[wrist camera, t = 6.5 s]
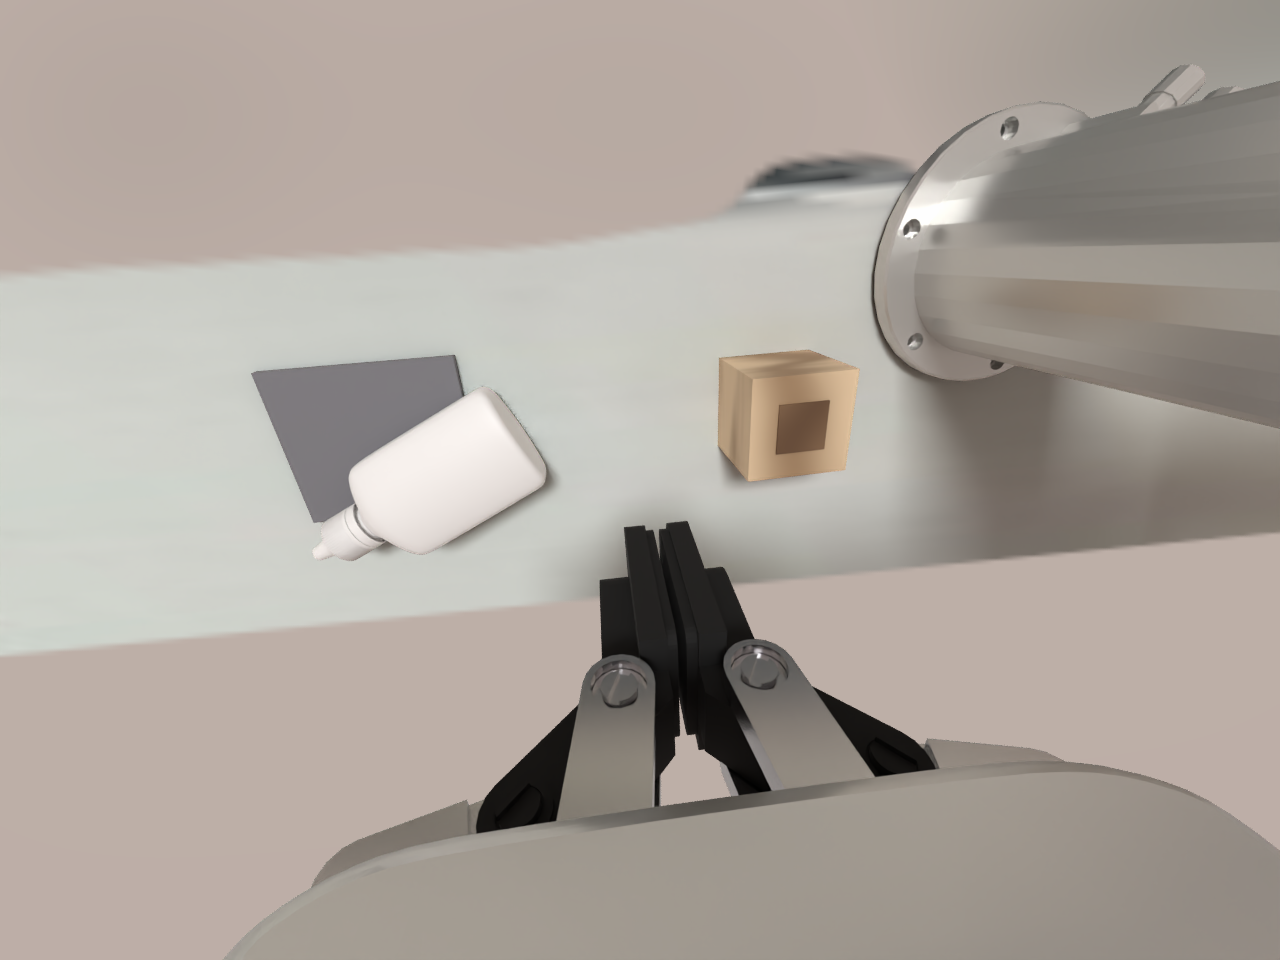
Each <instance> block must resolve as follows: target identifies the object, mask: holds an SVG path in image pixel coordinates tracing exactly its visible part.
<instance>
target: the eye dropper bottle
mask: <svg viewBox="0 0 1280 960" xmlns="http://www.w3.org/2000/svg"><path fill="white" fill-rule="evenodd" d="M545 479H546V467H545V464H544V462H543V460H542V458H541V456H540V455H539V453H538V451H537V450H536V448H535V446H534V445H533V443H532V441H531V440H530V438H529V437H528V435H527V434H526V432H525V431H524V429H523V428H522V426H521V425H520V423H519V422H518V421H517V419H516V418H515V417H514V415H513V414H512V413H511V411H510V410H509V409H508V407H507V406H506V405H505V404H504V402H503V401H502V400H501V399H500V397H499V396H498V395H497V394H496V393H495V392H494V391H493V390H492V389H490V388H487V387H480V388H477V389H475V390H474V391H472V392H470V393H469V394H467V395H465V396H464V397H462V398H460V399H459V400H457V401H456V402H454V403H452V404H451V405H449V406H447V407H446V408H444V409H442V410H441V411H439V412H438V413H436V414H434V415H433V416H431V417H429V418H428V419H426V420H425V421H423V422H421V423H420V424H418V425H416V426H415V427H413V428H412V429H410V430H408V431H407V432H405V433H403V434H402V435H400V436H399V437H397V438H395V439H394V440H392V441H390V442H389V443H387V444H386V445H384V446H382V447H381V448H379V449H378V450H376V451H375V452H373V453H371V454H370V455H368V456H367V457H365V458H364V459H362V460H361V461H360V462H358V463H357V464H356V465H355V466H354V467H353V468H352V469H351V471H350V474H349V485H350V489H351V493H352V495H353V498H354V501H355V503H354V504H353V505H351V506H349V507H348V508H346V509H344V510H343V511H341V512H340V513H338V514H336V515H335V516H333V517H331V518H330V519H328V520H326V521H325V522H324V523H323V525H322V528H321V536H322V539H323V541H322V542H321V543H319V544H318V545H317V546H316V547H315V548H314V549H313V550H312V554H313V556H314V557H315V558H316V559H318V560H324V559H326V558H329V557H332V556H337V557H338V558H340V559H343V560H347V561H354V560H357V559H358V558H360V557H362V556H363V555H365V554H367V553H368V552H370V551H372V550H373V549H375V548H377V547H378V546H380V545H382V544H383V543H385V542H387V541H388V542H390V543H391V544H393V545H395V546H397V547H399V548H401V549H403V550H405V551H408V552H410V553H414V554H419V555H423V554H427V553H430V552H432V551H434V550H436V549H438V548H439V547H441V546H443V545H445V544H446V543H448V542H450V541H452V540H453V539H455V538H457V537H458V536H460V535H462V534H464V533H465V532H467V531H469V530H470V529H472V528H474V527H475V526H477V525H479V524H480V523H482V522H484V521H486V520H487V519H489V518H491V517H492V516H494V515H496V514H497V513H499V512H501V511H502V510H504V509H506V508H507V507H509V506H511V505H512V504H514V503H516V502H517V501H519V500H521V499H523V498H524V497H526V496H528V495H529V494H531V493H533V492H534V491H536V490H538V489H539V488H541V487H542V486H543V485H544V483H545Z"/></svg>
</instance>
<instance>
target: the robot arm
mask: <svg viewBox="0 0 1280 960" xmlns="http://www.w3.org/2000/svg"><path fill="white" fill-rule="evenodd" d="M1204 83H1205V73H1204V72H1203V70H1202V69H1201V68H1200V67H1197V66H1195V65H1192V64H1189V65H1181V66H1179V67H1177V68H1175V69H1173V70H1172V71H1171V72H1170V73H1169V74H1168V75H1167V76H1166V77H1165V78H1164V79H1163V80H1161V82H1160V83H1158V84H1157V85H1156V86H1155V87H1154V88H1153V89H1152V90H1151V91H1150V92H1149V93H1148V94H1147V95H1146V96H1145V98H1144V99H1143V101H1142V102H1141V103H1140V104H1139V105H1138V106H1137V107H1133V108H1129V109H1125V110H1121V111H1117V112H1114V113H1110V114H1106V115H1102V116H1099V117H1095V118H1090V117H1088V116H1087V115H1086V114H1085V113H1084V112H1082V111H1080V110H1077V109H1075V108H1072V107H1070V106H1067V105H1065V104H1061V103H1051V102H1041V101H1040V102H1034V103H1028V104H1023V105H1016V106H1013V107H1010V108H1007V109H1004V110H1001V111H998V112H995V113H992V114H989V115H987V116H985V117H983V118H981V119H979V120H977V121H975V122H974V123H972V124H970V125H968V126H966V127H964V128H963V129H961V130H960V131H959V132H957V133H956V134H955V135H954V136H952V137H951V138H950V139H948V140H947V141H946V142H945V143H944V144H942V145H941V146H940V147H939V148H938V149H937V150H936V151H935V152H934V153H933V154H932V155H931V156H930V157H929V158H928V159H927V161H926V162H925V163H924V164H923V165H922V166H921V167H920V168H919V169H918V171H917V172H916V174H915V175H914V177H913V178H912V180H911V181H910V182H909V184H908V185H907V187H906V188H905V190H904V191H903V192H902V194H901V196H900V198H899V200H898V202H897V204H896V206H895V208H894V210H893V212H892V214H891V216H890V218H889V220H888V223H887V226H886V229H885V232H884V235H883V238H882V241H881V243H880V246H879V252H878V257H877V263H876V268H875V285H874V299H875V305H876V311H877V317H878V321H879V324H880V326H881V329H882V331H883V334H884V337H885V339H886V340H887V342H888V343H889V345H890V346H891V348H892V349H893V351H894V352H895V354H896V355H897V356H899V357H900V358H901V359H902V360H903V361H904V362H905V363H906V364H908V365H909V366H910V367H912V368H914V369H916V370H918V371H920V372H922V373H924V374H927V375H931V376H934V377H937V378H940V379H944V380H954V381H969V380H978V379H983V378H987V377H991V376H994V375H997V374H1000V373H1002V372H1004V371H1006V370H1008V369H1010V368H1012V367H1014V366H1020V367H1024V368H1029V369H1033V370H1037V371H1041V372H1045V373H1050V374H1054V375H1058V376H1062V377H1066V378H1070V379H1075V380H1079V381H1083V382H1087V383H1091V384H1096V385H1100V386H1104V387H1108V388H1112V389H1116V390H1121V391H1125V392H1129V393H1133V394H1137V395H1142V396H1146V397H1150V398H1154V399H1158V400H1162V401H1167V402H1171V403H1175V404H1179V405H1183V406H1188V407H1192V408H1196V409H1200V410H1204V411H1208V412H1213V413H1217V414H1221V415H1225V416H1229V417H1233V418H1238V419H1242V420H1246V421H1250V422H1254V423H1259V424H1263V425H1267V426H1271V427H1275V428H1279V429H1280V81H1277V82H1273V83H1269V84H1265V85H1261V86H1257V87H1252V88H1249V89H1243V88H1240V87H1236V86H1231V87H1221V88H1219V89H1217V90H1215V91H1212V92H1210V93H1209V94H1208V95H1207V96H1206V97H1204V99H1202V100H1200V101H1196V102H1192V103H1188V104H1185V103H1186V102H1187V101H1188V100H1189V99H1190V98H1191V97H1192V96H1193V95H1194V94H1195V93H1196V92H1197V91H1198V90H1199V89H1200V88H1201V87H1202V86H1203V84H1204ZM903 229H904V230H903ZM624 533H625V545H626V557H627V569H628V577H623V578H614V579H604V580H600V608H601V609H600V611H601V641H602V659H601V660H600V661H598V662H597V663H596V664H594V665H593V666H592V667H591V668H590V670H589V671H588V672H587V673H586V676H585V678H584V681H583V684H582V689H581V695H580V700H579V704H578V705H577V706H576V707H575V708H574V709H573V710H572V711H571V712H570V713H569V714H568V715H567V716H566V717H565V718H564V719H563V720H562V721H561V722H560V723H559V724H558V725H557V726H556V727H555V728H554V729H553V730H552V731H551V732H550V733H549V734H548V735H547V736H546V737H545V738H544V739H542V740H541V741H540V742H539V743H538V745H536V747H534V748H533V749H532V750H531V751H530V752H529V753H528V754H527V755H526V756H525V757H524V758H523V759H522V760H521V761H520V762H519V763H518V764H517V765H516V766H515V767H514V768H513V769H512V770H511V771H510V772H509V773H508V774H506V775H505V777H503V778H502V779H501V780H500V781H499V782H498V783H497V784H496V785H495V786H494V788H493V789H492V790H491V791H490V792H489V794H488V795H487V796H486V798H485V799H484V800H482V801H479V802H476V803H474V804H471V805H469V804H468V802H467V800H465V801H462V802H459V803H457V804H454V805H452V806H449V807H446V808H443V809H440V810H438V811H435V812H432V813H430V814H427V815H424V816H421V817H419V818H416V819H414V820H411V821H408V822H405V823H403V824H400V825H397V826H394V827H392V828H389V829H386V830H383V831H381V832H378V833H375V834H373V835H370V836H367V837H365V838H362V839H359V840H357V841H355V842H353V843H352V844H349V845H348V846H346V847H344V848H342V849H341V850H340V851H339V852H338V853H336V854H335V855H334V856H333V857H332V858H331V859H330V860H329V861H328V862H326V864H325V865H324V867H323V868H322V870H321V871H320V872H319V874H318V875H317V877H316V878H315V879H314V882H313V884H312V887H311V888H310V889H309V890H307V891H305V892H303V893H302V894H300V895H298V896H297V897H295V898H294V899H292V900H291V901H289V902H288V903H286V904H285V905H283V906H282V907H280V908H279V909H277V910H276V911H275V912H274V913H272V914H271V915H269V916H268V917H267V918H265V919H264V920H262V921H261V922H260V923H259V924H258V925H256V926H255V927H254V928H253V929H252V930H251V931H250V932H248V933H247V934H246V935H245V936H244V937H243V938H242V939H241V940H240V941H239V942H238V943H237V944H236V945H235V946H234V948H233V949H232V950H231V951H230V952H229V953H228V955H227V956H226V957H225V958H224V959H223V960H1280V850H1278V849H1277V848H1276V847H1275V846H1273V845H1272V844H1271V843H1269V842H1268V841H1267V840H1266V839H1264V838H1263V837H1262V836H1260V835H1259V834H1258V833H1256V832H1255V831H1253V830H1252V829H1251V828H1249V827H1248V826H1247V825H1245V824H1244V823H1242V822H1241V821H1240V820H1238V819H1237V818H1235V817H1234V816H1232V815H1231V814H1230V813H1228V812H1226V811H1225V810H1223V809H1221V808H1220V807H1218V806H1217V805H1215V804H1213V803H1212V802H1210V801H1208V800H1207V799H1204V798H1202V797H1200V796H1198V795H1196V794H1194V793H1192V792H1190V791H1188V790H1186V789H1183V788H1180V787H1178V786H1175V785H1172V784H1169V783H1167V782H1164V781H1161V780H1157V779H1154V778H1151V777H1147V776H1144V775H1141V774H1137V773H1132V772H1128V771H1123V770H1119V769H1114V768H1110V767H1105V766H1099V765H1092V764H1083V763H1074V762H1065V761H1063V760H1061V759H1059V758H1057V757H1055V756H1053V755H1051V754H1049V753H1047V752H1044V751H1040V750H1036V749H1031V748H1023V747H1012V746H1002V745H991V744H980V743H970V742H959V741H949V740H937V739H927V740H926V743H925V744H918V743H917V742H916V741H915V740H913V739H911V738H910V737H908V736H907V735H905V734H904V733H902V732H900V731H898V730H896V729H895V728H893V727H891V726H889V725H887V724H885V723H882V722H881V721H879V720H877V719H875V718H873V717H871V716H869V715H867V714H865V713H863V712H861V711H859V710H857V709H856V708H854V707H852V706H850V705H847V704H846V703H844V702H842V701H840V700H838V699H836V698H834V697H832V696H830V695H828V694H826V693H824V692H822V691H820V690H818V689H817V688H814V687H813V686H811V684H810V683H809V681H808V680H807V678H806V677H805V676H804V674H803V673H802V671H801V670H800V668H799V667H798V666H797V664H796V663H795V661H794V660H793V658H792V657H791V656H790V655H789V654H788V653H787V652H786V651H785V650H784V649H782V648H781V647H779V646H778V645H776V644H774V643H771V642H768V641H766V640H759V639H754V637H753V634H752V633H751V630H750V627H749V625H748V623H747V620H746V618H745V615H744V613H743V611H742V609H741V606H740V603H739V601H738V599H737V596H736V594H735V592H734V589H733V587H732V585H731V582H730V580H729V577H728V575H727V573H726V571H725V569H724V568H723V567H717V568H708V569H705V568H704V566H703V563H702V560H701V557H700V555H699V552H698V549H697V546H696V543H695V541H694V538H693V535H692V532H691V530H690V527H689V524H688V522H687V521H684V522H674V523H667V524H666V529H659V544H660V558H659V553H658V549H657V545H656V540H655V536H654V532H653V530H648V531H646V530H645V526H633V527H624ZM679 699H680V704H681V709H682V714H683V719H684V724H685V729H686V733H687V735H692V734H695V735H696V739H697V744H698V749H699V750H703V749H705V751H706V752H707V753H709V754H710V755H712V756H713V757H714V758H716V759H717V760H719V761H720V767H721V771H722V774H723V777H724V780H725V782H726V784H727V787H728V789H729V792H730V794H731V797H725V798H717V799H710V800H703V801H695V802H688V803H682V804H674V805H667V806H661V773H662V772H663V771H664V769H665V768H666V766H667V765H668V764H669V763H670V761H671V760H672V759H673V757H674V756H675V737H677V736H680V716H679Z"/></svg>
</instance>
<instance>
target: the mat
mask: <svg viewBox="0 0 1280 960" xmlns="http://www.w3.org/2000/svg"><path fill="white" fill-rule="evenodd" d="M251 374H252V377H253V379H254V381H255V384H256V386H257V389H258V391H259V393H260V396H261V398H262V400H263V403H264V405H265V408H266V410H267V412H268V415H269V417H270V420H271V422H272V424H273V427H274V429H275V431H276V434H277V436H278V439H279V441H280V443H281V446H282V448H283V451H284V453H285V455H286V458H287V460H288V462H289V465H290V467H291V470H292V472H293V474H294V477H295V479H296V482H297V484H298V486H299V489H300V491H301V493H302V496H303V498H304V501H305V503H306V505H307V508H308V510H309V513H310V515H311V517H312V520H313V522H314V523H316V522H324V521H326V520H328V519H330V518H331V517H333V516H335V515H336V514H338V513H340V512H341V511H343V510H344V509H346V508H348V507H349V506H351V505H353V504H354V503H355V501H354V498H353V495H352V493H351V489H350V485H349V474H350V471H351V469H352V468H353V467H354V466H355V465H356V464H357V463H358V462H360V461H361V460H362V459H364V458H365V457H367V456H368V455H370V454H371V453H373V452H375V451H376V450H378V449H379V448H381V447H382V446H384V445H386V444H387V443H389V442H390V441H392V440H394V439H395V438H397V437H399V436H400V435H402V434H403V433H405V432H407V431H408V430H410V429H412V428H413V427H415V426H416V425H418V424H420V423H421V422H423V421H425V420H426V419H428V418H429V417H431V416H433V415H434V414H436V413H438V412H439V411H441V410H442V409H444V408H446V407H447V406H449V405H451V404H452V403H454V402H456V401H457V400H459V399H460V398H462V397H464V395H463V390H462V386H461V381H460V377H459V373H458V368H457V364H456V359H455V355H448V356H436V357H424V358H412V359H400V360H388V361H376V362H364V363H352V364H340V365H328V366H316V367H304V368H292V369H280V370H268V371H256V372H254V373H251Z"/></svg>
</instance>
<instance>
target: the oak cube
mask: <svg viewBox="0 0 1280 960" xmlns="http://www.w3.org/2000/svg"><path fill="white" fill-rule="evenodd" d="M859 371H860V369H859V368H856V367H853V366H851V365H848V364H845V363H843V362H840V361H837V360H835V359H832V358H829V357H827V356H824V355H821V354H819V353H816V352H813V351H811V350H800V351H789V352H778V353H767V354H756V355H745V356H735V357H724V358H719V407H718V446H719V447H720V448H721V450H722V451H723V452H724V453H725V455H726V456H727V457H728V458H729V459H730V461H731V462H732V463H733V464H734V465H735V467H736V468H737V469H738V470H739V471H740V473H741V474H742V475H743V476H744V477H745V479H746V480H747V481H748V482H750V481H758V480H766V479H775V478H783V477H791V476H799V475H807V474H816V473H824V472H832V471H840V470H845V467H846V460H847V453H848V446H849V440H850V433H851V426H852V419H853V412H854V405H855V398H856V391H857V384H858V377H859Z"/></svg>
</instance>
